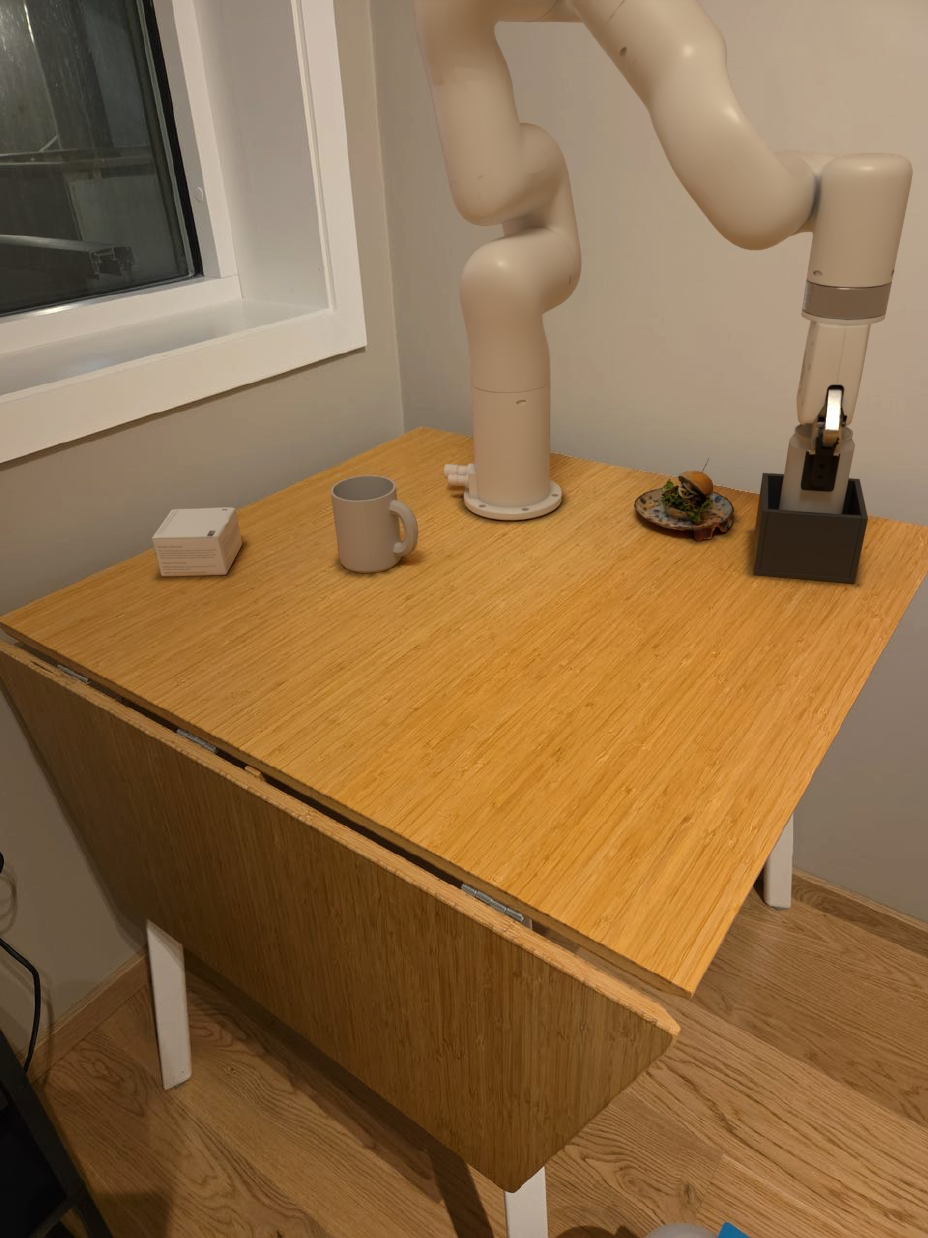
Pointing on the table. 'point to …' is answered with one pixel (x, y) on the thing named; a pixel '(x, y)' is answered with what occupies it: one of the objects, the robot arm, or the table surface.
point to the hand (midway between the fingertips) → (815, 474)
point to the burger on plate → (687, 506)
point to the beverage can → (791, 487)
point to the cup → (371, 524)
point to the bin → (808, 536)
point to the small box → (197, 542)
